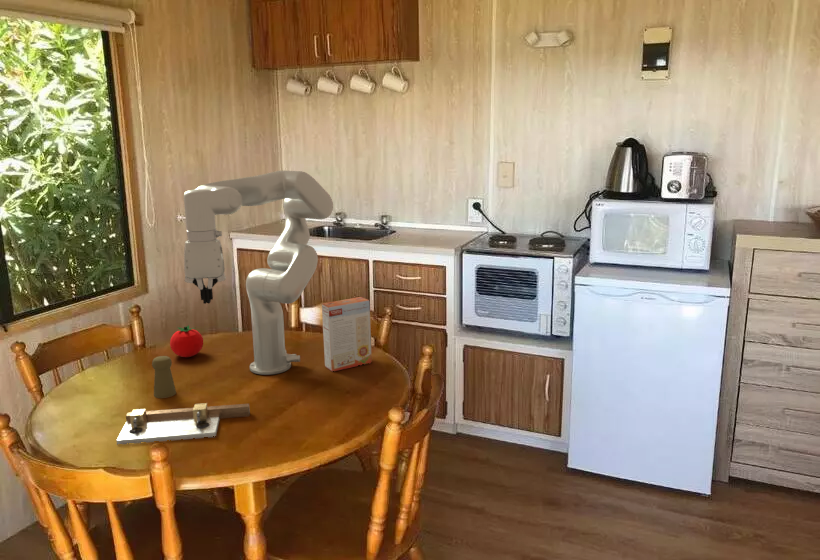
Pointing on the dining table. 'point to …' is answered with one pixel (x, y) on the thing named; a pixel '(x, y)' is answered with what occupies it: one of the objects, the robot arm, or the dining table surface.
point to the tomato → (186, 342)
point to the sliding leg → (200, 412)
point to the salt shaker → (163, 377)
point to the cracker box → (346, 333)
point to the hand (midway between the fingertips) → (207, 302)
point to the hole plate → (175, 423)
